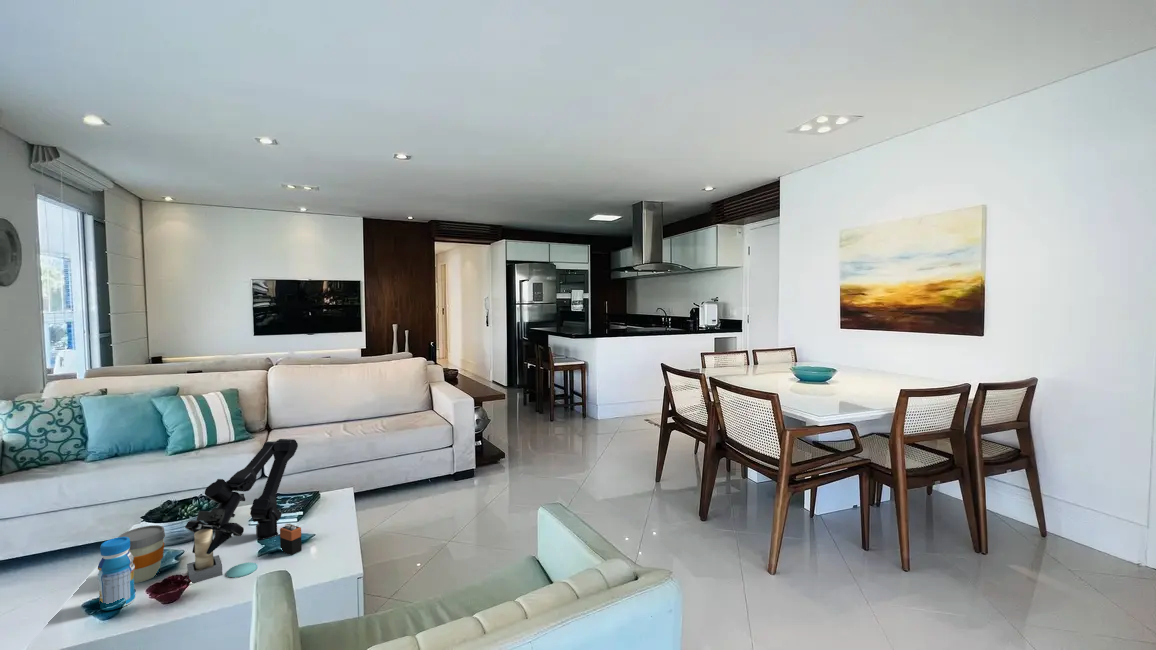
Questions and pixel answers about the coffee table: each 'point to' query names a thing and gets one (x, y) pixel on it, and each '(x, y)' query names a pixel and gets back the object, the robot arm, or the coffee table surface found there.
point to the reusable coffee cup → (146, 550)
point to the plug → (203, 548)
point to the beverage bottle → (116, 571)
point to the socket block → (204, 571)
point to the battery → (290, 539)
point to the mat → (242, 570)
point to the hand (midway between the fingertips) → (200, 553)
